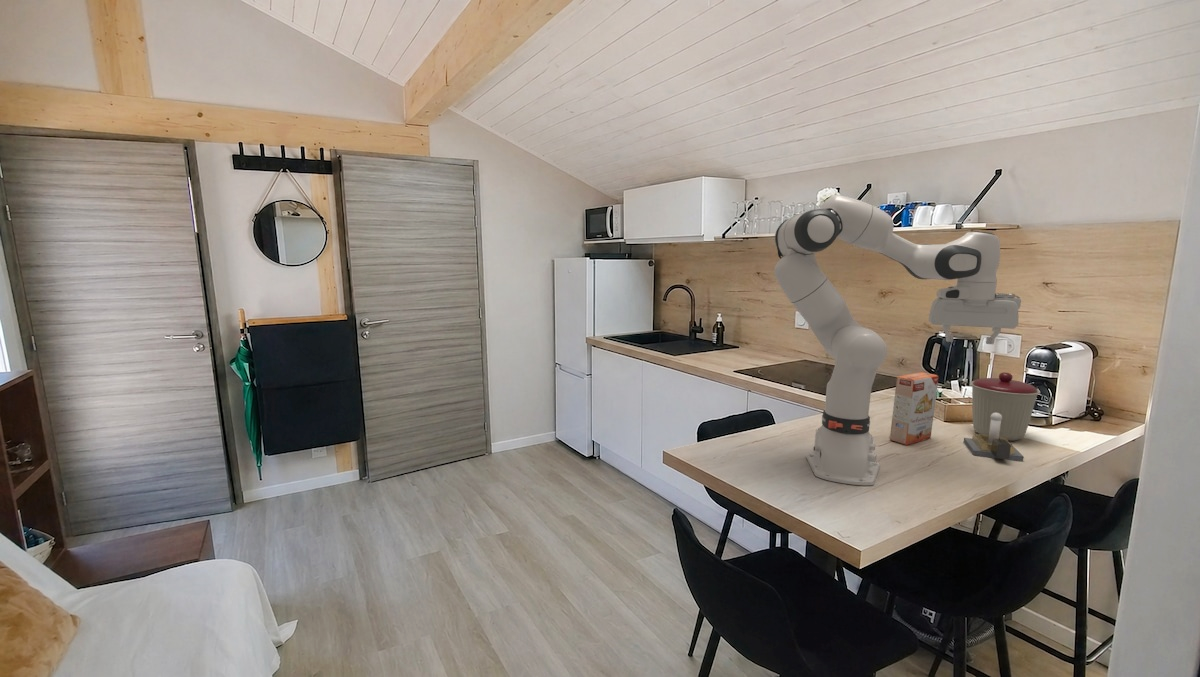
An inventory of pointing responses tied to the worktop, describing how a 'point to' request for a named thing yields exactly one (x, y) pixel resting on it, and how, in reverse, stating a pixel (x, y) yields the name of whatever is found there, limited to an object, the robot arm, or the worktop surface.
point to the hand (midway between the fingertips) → (969, 342)
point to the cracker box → (913, 407)
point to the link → (994, 445)
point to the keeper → (993, 434)
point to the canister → (1003, 405)
